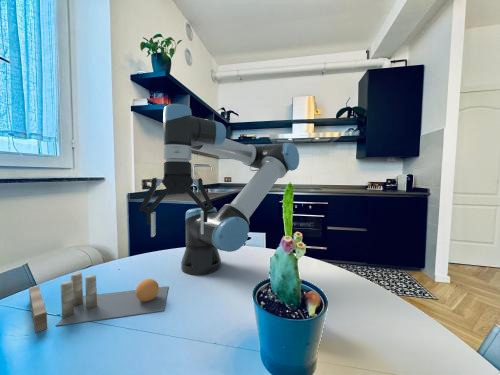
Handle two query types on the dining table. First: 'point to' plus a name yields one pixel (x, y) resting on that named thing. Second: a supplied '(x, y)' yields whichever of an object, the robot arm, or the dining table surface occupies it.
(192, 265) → the robot arm
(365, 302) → the dining table surface
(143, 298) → the ball
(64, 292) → the pin
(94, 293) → the front pin
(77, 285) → the pin
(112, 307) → the mat
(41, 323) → the back wall
